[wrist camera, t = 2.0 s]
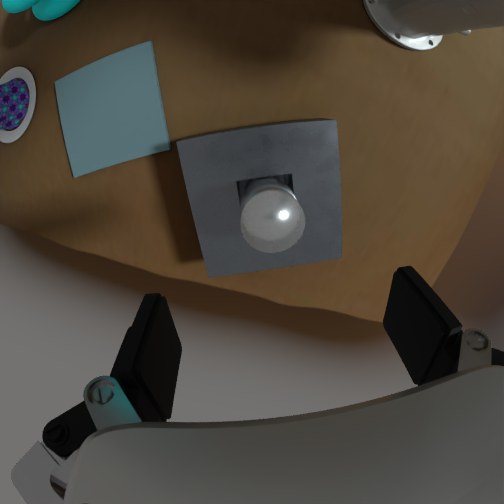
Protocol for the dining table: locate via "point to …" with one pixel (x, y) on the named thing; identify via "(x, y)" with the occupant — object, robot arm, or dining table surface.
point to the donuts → (41, 7)
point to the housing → (255, 166)
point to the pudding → (15, 103)
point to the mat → (112, 110)
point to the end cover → (270, 215)
